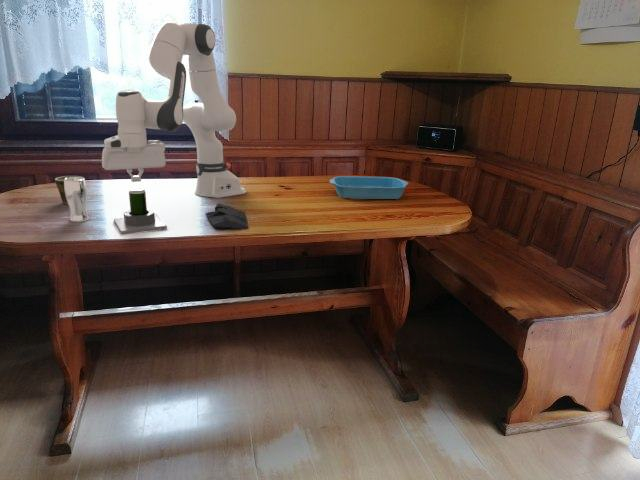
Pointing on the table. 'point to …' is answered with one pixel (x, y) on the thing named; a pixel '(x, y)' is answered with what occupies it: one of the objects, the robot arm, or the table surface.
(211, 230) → the table surface
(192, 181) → the table surface
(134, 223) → the barrel holder
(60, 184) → the ceramic cup
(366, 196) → the casserole dish
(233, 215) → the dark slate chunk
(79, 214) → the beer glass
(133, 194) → the beer can
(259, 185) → the table surface
